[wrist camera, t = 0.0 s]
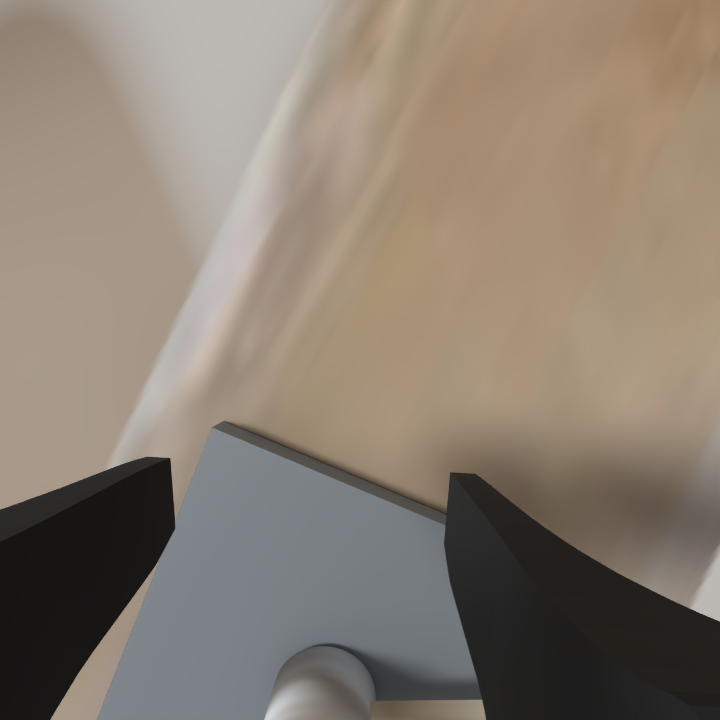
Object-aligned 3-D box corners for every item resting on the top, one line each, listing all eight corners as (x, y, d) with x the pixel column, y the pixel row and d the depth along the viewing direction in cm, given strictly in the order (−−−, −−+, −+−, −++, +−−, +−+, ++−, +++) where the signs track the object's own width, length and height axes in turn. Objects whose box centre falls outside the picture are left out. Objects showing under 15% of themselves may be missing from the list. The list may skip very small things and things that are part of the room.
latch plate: (429, 898, 22) (433, 939, 21) (92, 753, 22) (71, 783, 21) (582, 571, 21) (598, 589, 19) (223, 421, 21) (211, 427, 20)
